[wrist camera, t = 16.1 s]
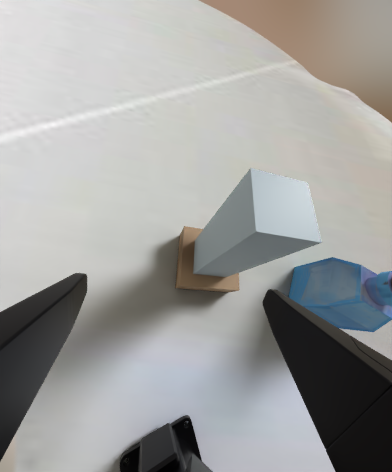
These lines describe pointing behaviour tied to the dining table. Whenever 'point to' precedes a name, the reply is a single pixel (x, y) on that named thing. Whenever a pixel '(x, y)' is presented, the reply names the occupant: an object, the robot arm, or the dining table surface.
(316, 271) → the perfume bottle
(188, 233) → the walnut plinth
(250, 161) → the dining table surface
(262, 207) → the slate-blue post
